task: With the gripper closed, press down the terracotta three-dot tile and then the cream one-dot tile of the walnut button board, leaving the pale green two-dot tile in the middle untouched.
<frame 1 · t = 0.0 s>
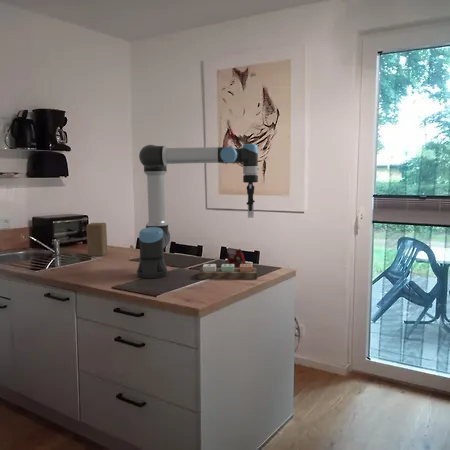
hand: (250, 216, 231), 28 cm above the worktop, fingers open, 13 cm apart
toy fire truck: (235, 268, 240), on the worktop
tile 2: (227, 268, 220), point 4 cm above the worktop, slide at 0.0 cm
tile 1: (209, 268, 220), point 4 cm above the worktop, slide at 0.0 cm
wooden block: (97, 255, 284), on the worktop
board: (227, 276, 220), on the worktop
tile 3: (246, 268, 219), point 4 cm above the worktop, slide at 0.0 cm
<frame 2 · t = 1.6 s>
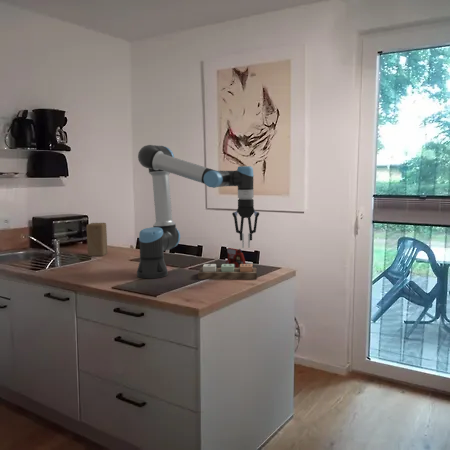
hand: (246, 247, 218), 14 cm above the worktop, fingers open, 2 cm apart
nothing on the worktop moved.
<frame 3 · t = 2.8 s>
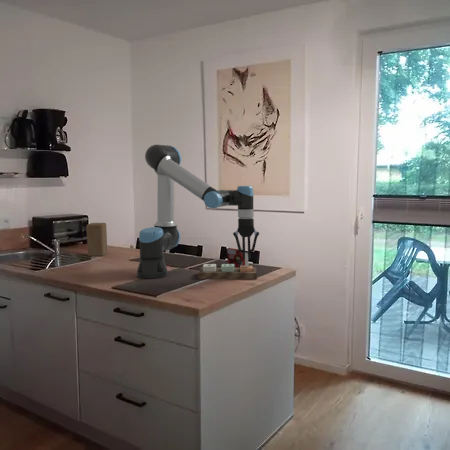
hand: (246, 266, 219), 5 cm above the worktop, fingers closed
tile 3: (246, 270, 219), point 3 cm above the worktop, slide at -0.9 cm, touching gripper
everything else where it was.
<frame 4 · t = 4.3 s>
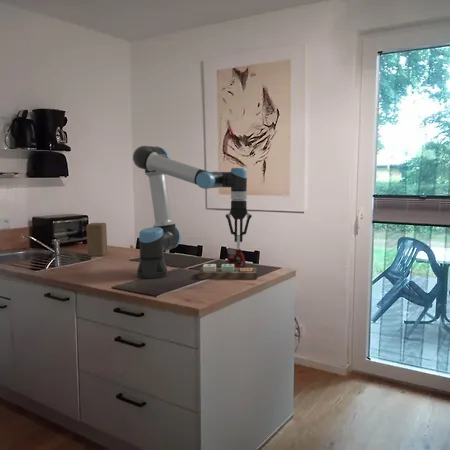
hand: (238, 248, 218), 14 cm above the worktop, fingers closed
tile 3: (246, 272, 219), point 2 cm above the worktop, slide at -2.0 cm
everything else where it was.
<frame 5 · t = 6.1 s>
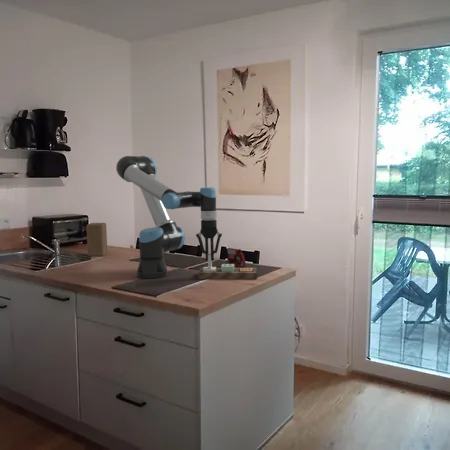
hand: (210, 267, 220), 5 cm above the worktop, fingers closed
tile 1: (209, 271, 220), point 3 cm above the worktop, slide at -1.5 cm, touching gripper
everything else where it was.
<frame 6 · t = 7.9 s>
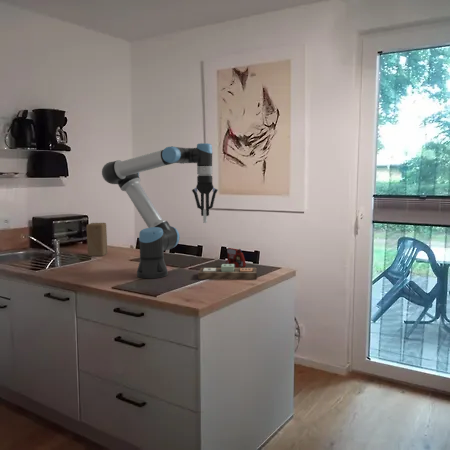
hand: (205, 222, 225), 26 cm above the worktop, fingers closed
tile 1: (209, 272, 221), point 2 cm above the worktop, slide at -2.0 cm
everything else where it was.
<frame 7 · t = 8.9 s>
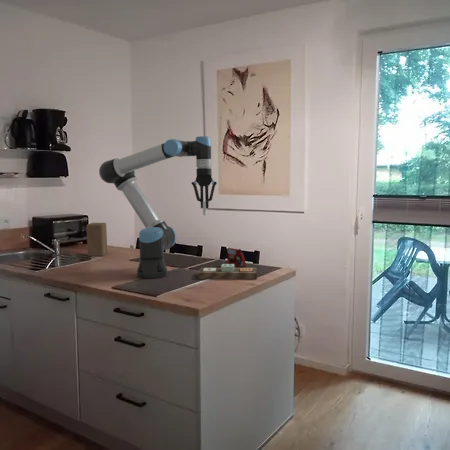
hand: (204, 214, 227), 29 cm above the worktop, fingers closed
nothing on the worktop moved.
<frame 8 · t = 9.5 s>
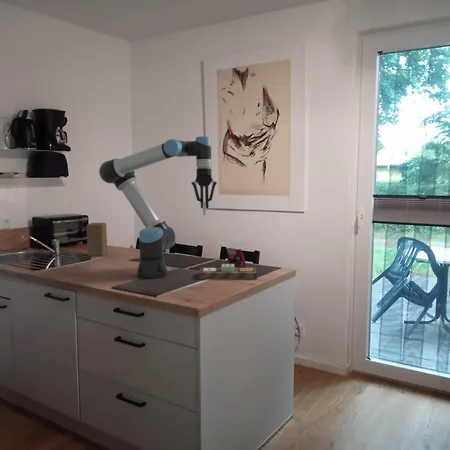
hand: (204, 214, 227), 29 cm above the worktop, fingers closed
nothing on the worktop moved.
at the end: tile 3 slide at -2.0 cm; tile 1 slide at -2.0 cm; tile 2 slide at 0.0 cm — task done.
